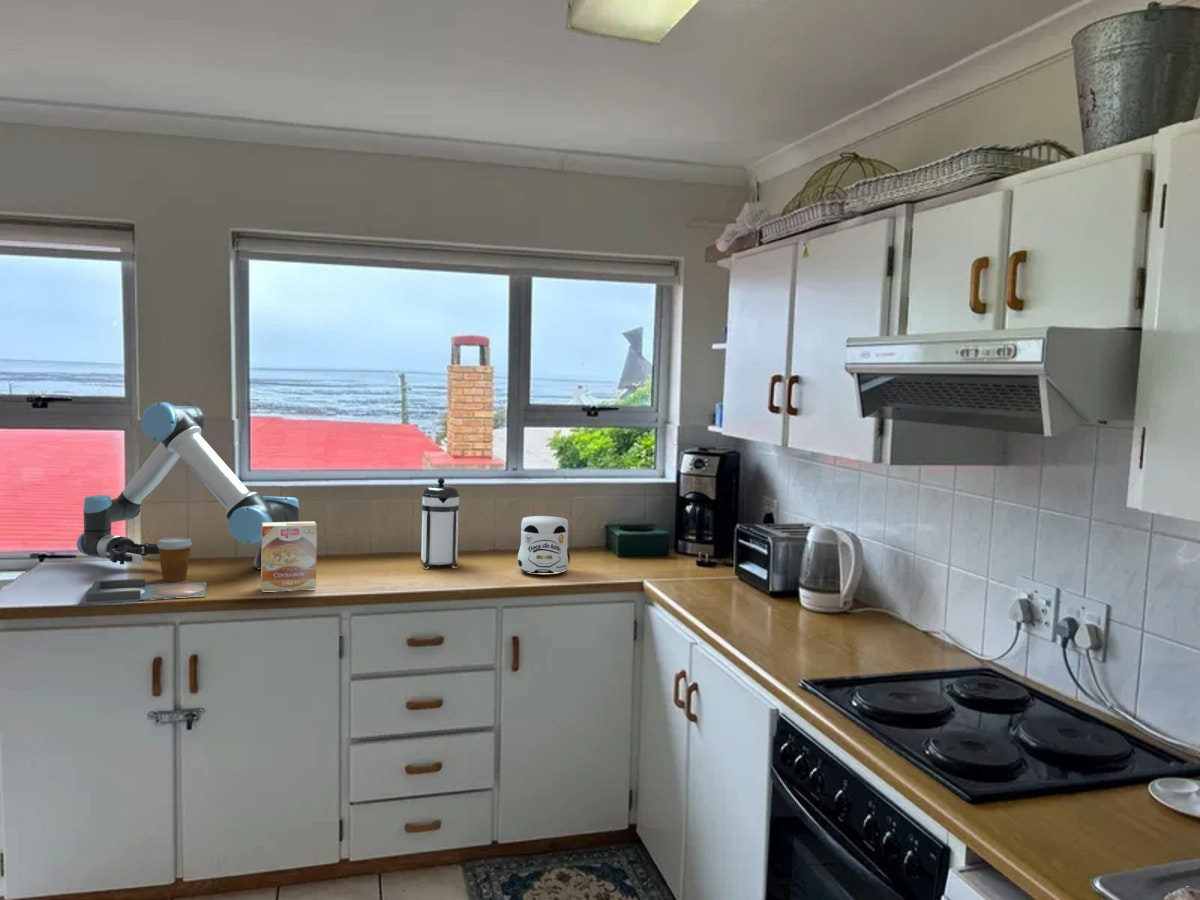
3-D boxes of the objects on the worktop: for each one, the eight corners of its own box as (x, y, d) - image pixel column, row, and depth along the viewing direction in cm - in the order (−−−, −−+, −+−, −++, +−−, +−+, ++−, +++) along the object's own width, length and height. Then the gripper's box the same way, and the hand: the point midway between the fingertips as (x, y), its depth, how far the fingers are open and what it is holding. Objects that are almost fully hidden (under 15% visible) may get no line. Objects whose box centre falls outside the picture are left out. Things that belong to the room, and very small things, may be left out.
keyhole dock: (206, 583, 251) (206, 575, 251) (205, 597, 235) (205, 588, 235) (89, 590, 239) (89, 580, 239) (79, 604, 223) (79, 594, 223)
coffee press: (472, 565, 291) (474, 478, 289) (440, 572, 277) (442, 481, 275) (435, 558, 300) (437, 473, 298) (402, 565, 287) (403, 476, 285)
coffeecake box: (261, 593, 242) (262, 525, 241) (260, 588, 248) (261, 522, 247) (316, 590, 248) (317, 524, 247) (314, 585, 255) (315, 520, 253)
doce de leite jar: (538, 580, 271) (540, 525, 269) (506, 571, 284) (508, 517, 282) (579, 574, 282) (581, 521, 281) (547, 565, 295) (549, 514, 294)
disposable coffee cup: (177, 584, 250) (177, 543, 249) (149, 581, 251) (149, 541, 251) (199, 577, 259) (199, 538, 258) (171, 574, 261) (171, 536, 260)
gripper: (153, 554, 278) (197, 561, 268) (77, 566, 256) (122, 575, 246) (153, 531, 277) (197, 538, 268) (77, 542, 255) (122, 550, 245)
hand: (161, 556), depth 257 cm, fingers open, 13 cm apart
